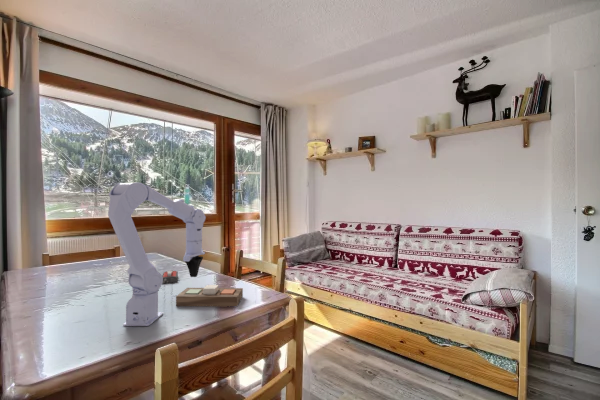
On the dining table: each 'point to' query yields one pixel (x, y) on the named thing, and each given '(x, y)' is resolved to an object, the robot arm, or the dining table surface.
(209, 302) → the wooden tray
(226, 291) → the key rust
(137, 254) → the robot arm
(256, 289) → the dining table surface
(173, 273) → the walkie-talkie
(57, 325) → the dining table surface
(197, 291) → the key sage
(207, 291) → the key cream
